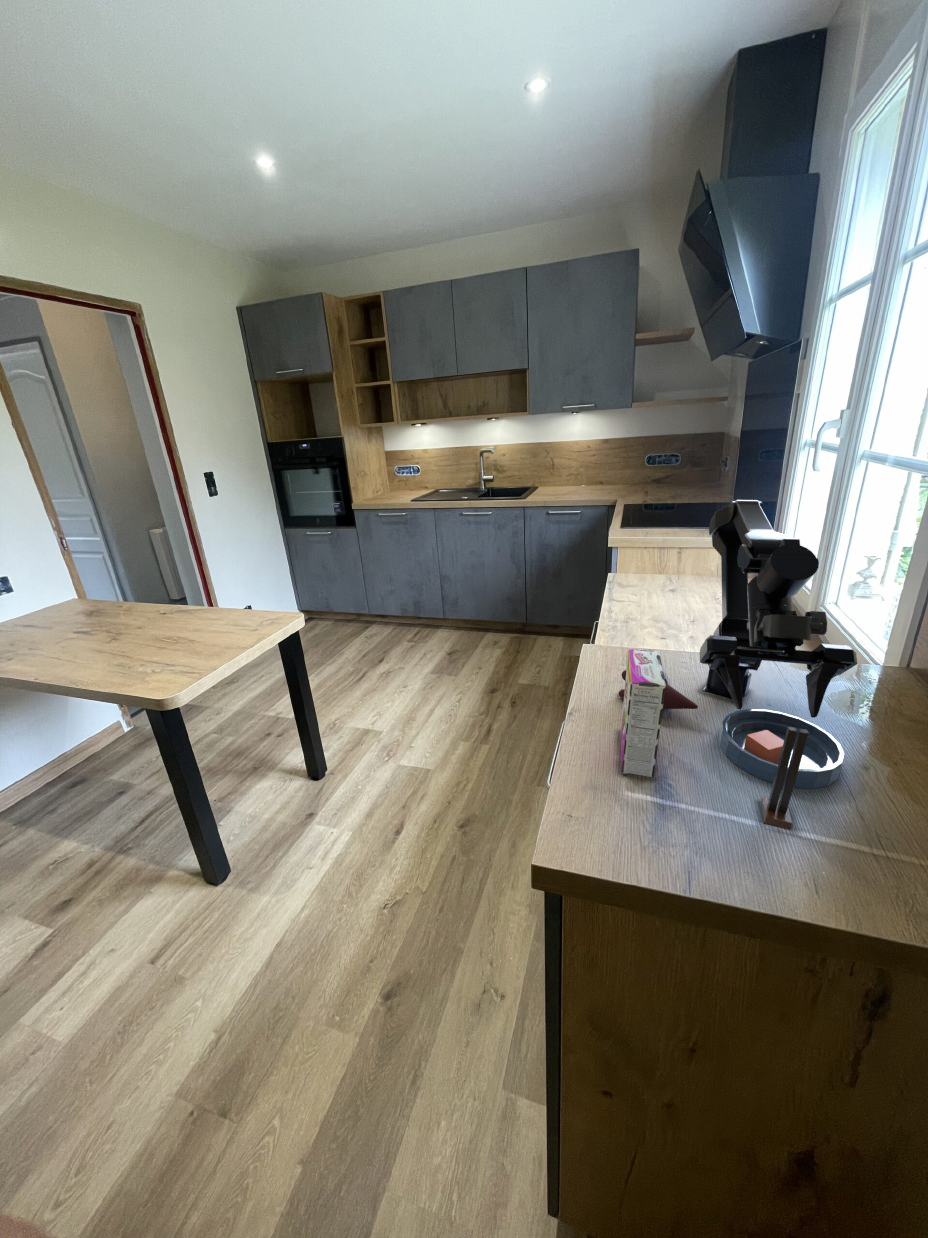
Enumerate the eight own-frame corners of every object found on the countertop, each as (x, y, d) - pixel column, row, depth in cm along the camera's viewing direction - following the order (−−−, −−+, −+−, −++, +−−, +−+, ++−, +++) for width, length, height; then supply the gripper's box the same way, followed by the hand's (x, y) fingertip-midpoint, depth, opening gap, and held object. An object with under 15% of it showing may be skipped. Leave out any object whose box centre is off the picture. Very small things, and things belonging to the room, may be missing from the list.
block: (762, 750, 78) (767, 729, 76) (784, 765, 74) (789, 744, 73) (742, 755, 77) (746, 734, 75) (763, 771, 73) (768, 750, 72)
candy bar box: (618, 733, 84) (627, 647, 78) (649, 737, 83) (660, 650, 77) (619, 775, 74) (630, 681, 68) (654, 780, 73) (668, 685, 67)
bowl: (705, 759, 77) (708, 741, 76) (734, 715, 88) (738, 698, 87) (829, 808, 67) (835, 788, 65) (844, 751, 78) (850, 733, 76)
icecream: (709, 685, 86) (632, 664, 97) (691, 690, 81) (612, 667, 92) (703, 722, 87) (627, 697, 98) (684, 729, 82) (607, 702, 93)
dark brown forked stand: (760, 803, 68) (781, 719, 63) (784, 809, 67) (808, 723, 61) (764, 824, 64) (787, 736, 59) (790, 830, 63) (816, 741, 58)
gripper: (715, 583, 69) (717, 689, 63) (871, 591, 64) (888, 707, 58) (698, 615, 79) (699, 709, 73) (832, 624, 74) (843, 726, 68)
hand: (776, 712), depth 68 cm, fingers open, 9 cm apart
